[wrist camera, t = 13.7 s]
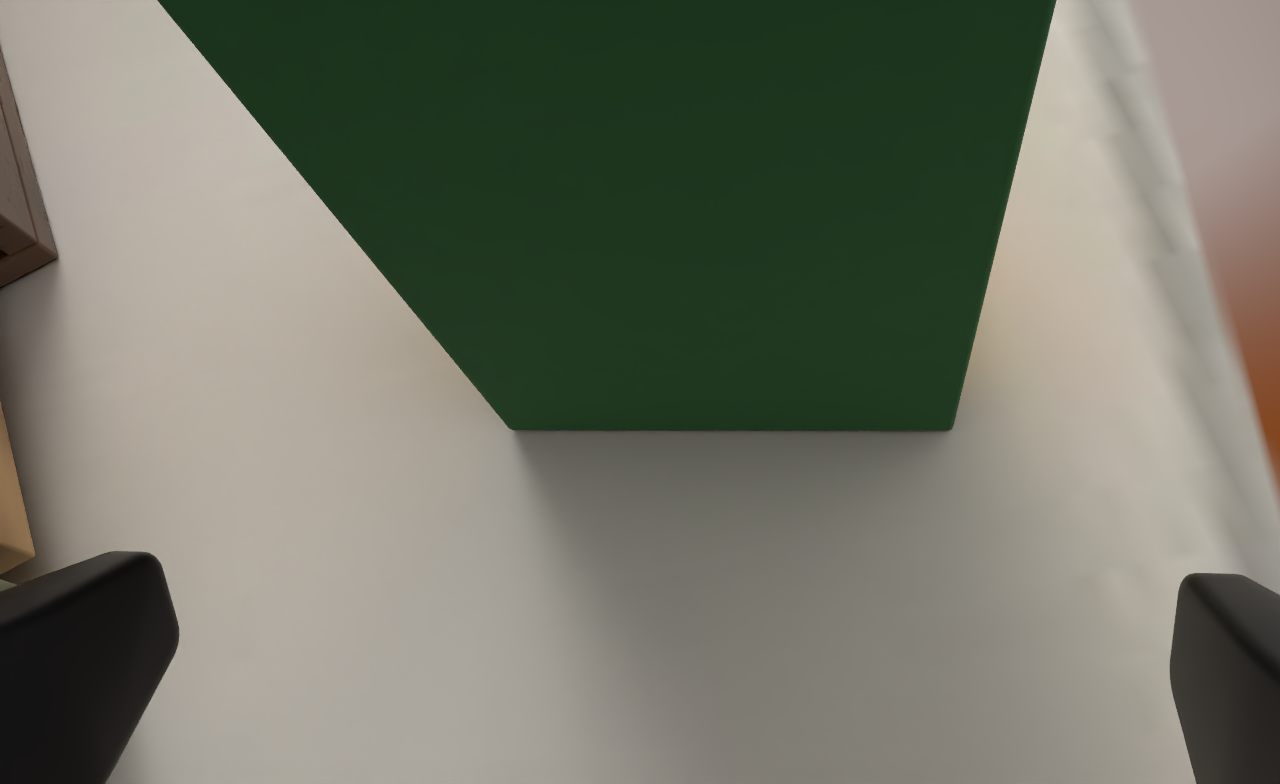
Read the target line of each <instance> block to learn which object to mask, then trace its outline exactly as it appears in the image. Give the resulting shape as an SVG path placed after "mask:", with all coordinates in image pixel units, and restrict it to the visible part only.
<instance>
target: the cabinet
mask: <svg viewBox="0 0 1280 784" xmlns="http://www.w3.org/2000/svg"><path fill="white" fill-rule="evenodd" d="M56 257H57V253H56V249H55V246H54V242H53V239H52V235H51V231H50V228H49V224H48V220H47V217H46V213H45V210H44V206H43V202H42V199H41V195H40V191H39V188H38V184H37V181H36V177H35V173H34V170H33V166H32V162H31V159H30V155H29V152H28V148H27V144H26V141H25V137H24V133H23V130H22V126H21V123H20V119H19V115H18V112H17V108H16V104H15V101H14V97H13V94H12V90H11V86H10V83H9V79H8V75H7V72H6V68H5V65H4V61H3V57H2V54H1V50H0V287H2V286H4V285H5V284H7V283H9V282H11V281H13V280H15V279H17V278H19V277H21V276H23V275H25V274H27V273H28V272H30V271H32V270H34V269H36V268H38V267H40V266H42V265H44V264H46V263H48V262H50V261H51V260H53V259H55V258H56Z"/></svg>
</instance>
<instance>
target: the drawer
mask: <svg viewBox="0 0 1280 784" xmlns="http://www.w3.org/2000/svg"><path fill="white" fill-rule="evenodd" d="M34 556H35V551H34V546H33V542H32V537H31V533H30V529H29V524H28V520H27V515H26V511H25V507H24V502H23V498H22V494H21V489H20V485H19V480H18V476H17V472H16V467H15V463H14V458H13V454H12V450H11V445H10V441H9V436H8V432H7V428H6V423H5V419H4V414H3V410H2V406H1V401H0V575H1V574H3V573H4V572H6V571H8V570H10V569H12V568H14V567H16V566H18V565H20V564H21V563H23V562H25V561H27V560H29V559H31V558H33V557H34ZM14 586H17V585H16V584H13V583H10V582H7V581H4V580H0V591H3V590H6V589H9V588H11V587H14Z"/></svg>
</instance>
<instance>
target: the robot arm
mask: <svg viewBox="0 0 1280 784" xmlns="http://www.w3.org/2000/svg"><path fill="white" fill-rule="evenodd" d="M178 641H179V626H178V621H177V618H176V614H175V611H174V607H173V603H172V600H171V596H170V593H169V589H168V586H167V582H166V579H165V575H164V572H163V568H162V566H161V563H160V562H159V561H158V559H157V558H156V557H155V556H153V555H152V554H150V553H147V552H127V551H113V552H108V553H104V554H101V555H99V556H96V557H93V558H90V559H88V560H85V561H82V562H80V563H77V564H74V565H71V566H69V567H66V568H63V569H60V570H58V571H55V572H52V573H50V574H47V575H44V576H41V577H39V578H36V579H33V580H30V581H28V582H25V583H22V584H20V585H17V586H14V587H11V588H9V589H6V590H3V591H0V784H105V783H106V781H107V779H108V778H109V776H110V774H111V772H112V771H113V769H114V767H115V765H116V763H117V761H118V760H119V758H120V756H121V754H122V752H123V750H124V748H125V746H126V745H127V743H128V741H129V739H130V737H131V735H132V733H133V731H134V730H135V728H136V726H137V724H138V722H139V720H140V718H141V717H142V715H143V713H144V711H145V709H146V707H147V705H148V703H149V702H150V700H151V698H152V696H153V694H154V692H155V690H156V689H157V687H158V685H159V683H160V681H161V679H162V677H163V675H164V674H165V672H166V670H167V668H168V666H169V664H170V662H171V660H172V659H173V657H174V655H175V652H176V649H177V646H178ZM1170 680H1171V687H1172V693H1173V697H1174V701H1175V704H1176V708H1177V712H1178V716H1179V719H1180V723H1181V727H1182V731H1183V734H1184V738H1185V742H1186V746H1187V750H1188V753H1189V757H1190V761H1191V765H1192V768H1193V772H1194V776H1195V780H1196V783H1197V784H1280V595H1278V594H1276V593H1275V592H1273V591H1271V590H1269V589H1267V588H1265V587H1264V586H1262V585H1260V584H1258V583H1256V582H1254V581H1253V580H1251V579H1249V578H1247V577H1245V576H1243V575H1238V574H1213V573H1194V574H1189V575H1187V576H1186V577H1185V578H1184V579H1183V581H1182V582H1181V585H1180V588H1179V592H1178V600H1177V608H1176V616H1175V624H1174V633H1173V641H1172V649H1171V657H1170Z"/></svg>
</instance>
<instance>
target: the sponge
mask: <svg viewBox="0 0 1280 784" xmlns="http://www.w3.org/2000/svg"><path fill="white" fill-rule="evenodd" d="M158 2H159V3H160V4H161V5H162V6H163V8H164V9H165V10H166V11H167V13H168V14H169V15H170V16H171V17H172V19H173V20H174V21H175V22H176V23H177V25H178V26H179V27H180V28H181V30H182V31H183V32H184V33H185V34H186V36H187V37H188V38H189V39H190V41H191V42H192V43H193V44H194V45H195V47H196V48H197V49H198V50H199V51H200V53H201V54H202V55H203V56H204V58H205V59H206V60H207V61H208V62H209V64H210V65H211V66H212V67H213V68H214V70H215V71H216V72H217V73H218V75H219V76H220V77H221V78H222V79H223V81H224V82H225V83H226V84H227V86H228V87H229V88H230V89H231V90H232V92H233V93H234V94H235V95H236V96H237V98H238V99H239V100H240V101H241V103H242V104H243V105H244V106H245V107H246V109H247V110H248V111H249V112H250V114H251V115H252V116H253V117H254V118H255V120H256V121H257V122H258V123H259V124H260V126H261V127H262V128H263V129H264V131H265V132H266V133H267V134H268V135H269V137H270V138H271V139H272V140H273V141H274V143H275V144H276V145H277V146H278V148H279V149H280V150H281V151H282V152H283V154H284V155H285V156H286V157H287V159H288V160H289V161H290V162H291V163H292V165H293V166H294V167H295V168H296V169H297V171H298V172H299V173H300V174H301V176H302V177H303V178H304V179H305V180H306V182H307V183H308V184H309V185H310V186H311V188H312V189H313V190H314V191H315V193H316V194H317V195H318V196H319V197H320V199H321V200H322V201H323V202H324V204H325V205H326V206H327V207H328V208H329V210H330V211H331V212H332V213H333V214H334V216H335V217H336V218H337V219H338V221H339V222H340V223H341V224H342V225H343V227H344V228H345V229H346V230H347V231H348V233H349V234H350V235H351V236H352V238H353V239H354V240H355V241H356V242H357V244H358V245H359V246H360V247H361V249H362V250H363V251H364V252H365V253H366V255H367V256H368V257H369V258H370V259H371V261H372V262H373V263H374V264H375V266H376V267H377V268H378V269H379V270H380V272H381V273H382V274H383V275H384V276H385V278H386V279H387V280H388V281H389V283H390V284H391V285H392V286H393V287H394V289H395V290H396V291H397V292H398V294H399V295H400V296H401V297H402V298H403V300H404V301H405V302H406V303H407V304H408V306H409V307H410V308H411V309H412V311H413V312H414V313H415V314H416V315H417V317H418V318H419V319H420V320H421V321H422V323H423V324H424V325H425V326H426V328H427V329H428V330H429V331H430V332H431V334H432V335H433V336H434V337H435V339H436V340H437V341H438V342H439V343H440V345H441V346H442V347H443V348H444V349H445V351H446V352H447V353H448V354H449V356H450V357H451V358H452V359H453V360H454V362H455V363H456V364H457V365H458V367H459V368H460V369H461V370H462V371H463V373H464V374H465V375H466V376H467V377H468V379H469V380H470V381H471V382H472V384H473V385H474V386H475V387H476V388H477V390H478V391H479V392H480V393H481V394H482V396H483V397H484V398H485V399H486V401H487V402H488V403H489V404H490V405H491V407H492V408H493V409H494V410H495V412H496V413H497V414H498V415H499V416H500V418H501V419H502V420H503V421H504V422H505V424H506V425H507V426H508V427H509V428H510V429H512V430H950V429H952V427H953V425H954V421H955V417H956V412H957V408H958V404H959V400H960V396H961V392H962V388H963V383H964V379H965V375H966V371H967V367H968V363H969V359H970V355H971V350H972V346H973V342H974V338H975V334H976V330H977V326H978V322H979V317H980V313H981V309H982V305H983V301H984V297H985V293H986V288H987V284H988V280H989V276H990V272H991V268H992V264H993V260H994V255H995V251H996V247H997V243H998V239H999V235H1000V231H1001V226H1002V222H1003V218H1004V214H1005V210H1006V206H1007V202H1008V198H1009V193H1010V189H1011V185H1012V181H1013V177H1014V173H1015V169H1016V165H1017V160H1018V156H1019V152H1020V148H1021V144H1022V140H1023V136H1024V131H1025V127H1026V123H1027V119H1028V115H1029V111H1030V107H1031V103H1032V98H1033V94H1034V90H1035V86H1036V82H1037V78H1038V74H1039V69H1040V65H1041V61H1042V57H1043V53H1044V49H1045V45H1046V41H1047V36H1048V32H1049V28H1050V24H1051V20H1052V16H1053V12H1054V8H1055V3H1056V0H158Z"/></svg>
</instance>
